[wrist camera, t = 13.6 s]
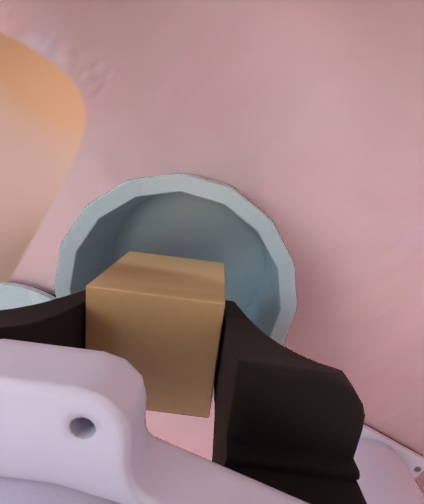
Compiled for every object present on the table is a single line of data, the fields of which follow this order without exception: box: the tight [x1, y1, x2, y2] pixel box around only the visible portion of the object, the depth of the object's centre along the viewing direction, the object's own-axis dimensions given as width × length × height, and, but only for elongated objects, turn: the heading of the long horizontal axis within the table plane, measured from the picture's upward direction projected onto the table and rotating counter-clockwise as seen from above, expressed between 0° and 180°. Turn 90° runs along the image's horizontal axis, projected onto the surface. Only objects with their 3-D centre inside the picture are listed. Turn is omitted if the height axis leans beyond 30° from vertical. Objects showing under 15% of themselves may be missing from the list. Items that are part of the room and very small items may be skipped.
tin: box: [54, 173, 297, 397], centre depth 17 cm, size 12×12×6 cm
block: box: [85, 251, 225, 418], centre depth 12 cm, size 4×4×4 cm
